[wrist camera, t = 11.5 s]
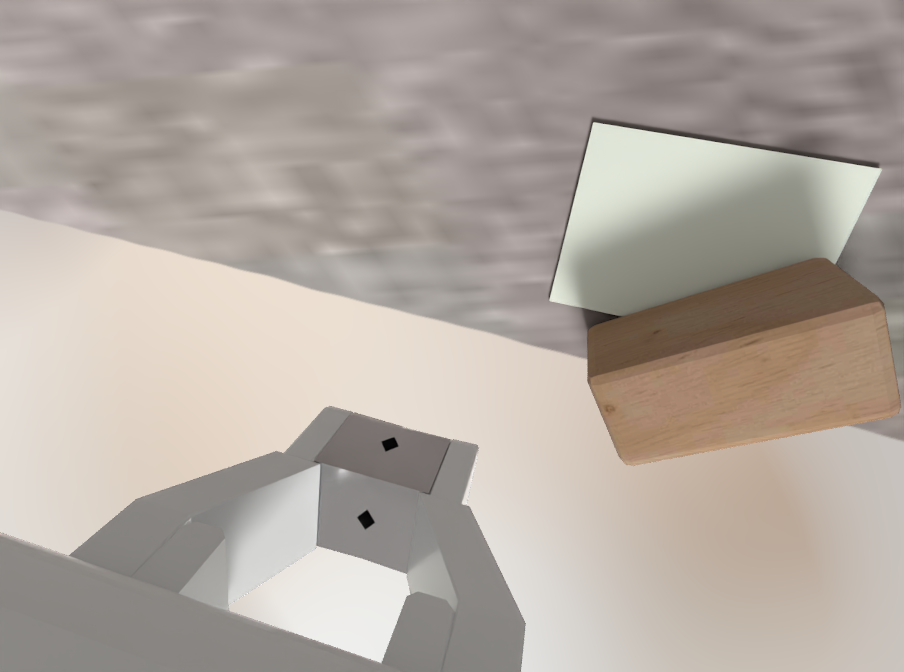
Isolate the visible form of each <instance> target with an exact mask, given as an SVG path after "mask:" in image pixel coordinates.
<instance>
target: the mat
mask: <svg viewBox="0 0 904 672" xmlns="http://www.w3.org/2000/svg"><path fill="white" fill-rule="evenodd" d="M881 170H882V169H879V168H873V167H867V166H861V165H855V164H848V163H842V162H836V161H830V160H824V159H817V158H811V157H805V156H799V155H793V154H787V153H780V152H774V151H768V150H762V149H756V148H749V147H743V146H737V145H731V144H725V143H719V142H712V141H706V140H700V139H694V138H688V137H682V136H675V135H669V134H663V133H657V132H651V131H644V130H638V129H632V128H626V127H620V126H614V125H607V124H601V123H595V122H593V125H592V129H591V134H590V138H589V142H588V146H587V150H586V154H585V158H584V162H583V166H582V170H581V174H580V178H579V182H578V186H577V190H576V194H575V198H574V202H573V206H572V210H571V214H570V218H569V222H568V226H567V230H566V235H565V239H564V243H563V247H562V251H561V255H560V259H559V263H558V267H557V271H556V275H555V279H554V283H553V287H552V291H551V295H550V299H549V301H553V302H557V303H562V304H566V305H571V306H576V307H580V308H585V309H589V310H594V311H599V312H603V313H608V314H612V315H617V316H622V317H623V316H626V315H629V314H633V313H636V312H639V311H642V310H646V309H649V308H652V307H655V306H659V305H662V304H665V303H668V302H672V301H675V300H678V299H682V298H685V297H688V296H691V295H695V294H698V293H701V292H704V291H708V290H711V289H714V288H717V287H721V286H724V285H727V284H730V283H734V282H737V281H740V280H743V279H747V278H750V277H753V276H756V275H760V274H763V273H766V272H770V271H773V270H776V269H779V268H783V267H786V266H789V265H792V264H796V263H799V262H802V261H805V260H809V259H812V258H827V259H828V260H829V261H831V262H832V263H834V264H836V262H837V260H838V258H839V256H840V254H841V252H842V250H843V248H844V246H845V244H846V242H847V240H848V238H849V236H850V233H851V231H852V229H853V227H854V225H855V223H856V221H857V219H858V217H859V215H860V213H861V211H862V209H863V207H864V205H865V203H866V201H867V199H868V197H869V195H870V193H871V191H872V189H873V187H874V185H875V183H876V181H877V179H878V177H879V175H880V172H881Z"/></svg>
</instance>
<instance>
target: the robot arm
mask: <svg viewBox="0 0 904 672" xmlns="http://www.w3.org/2000/svg"><path fill="white" fill-rule="evenodd" d="M478 449H479V447H478V445H476V444H471V443H467V442H462V441H459V440H454V439H453V440H450V439H447V438H443V437H439V436H435V435H431V434H428V433H423V432H420V431H416V430H412V429H408V428H404V427H402V426H399V425H396V424H392V423H389V422H385V421H382V420H378V419H375V418H372V417H368V416H365V415H361V414H358V413H353V412H351V411H347V410H343V409H339V408H335V407H332V406H329V407H326V408H324V409H323V410H322V412H321V413H320V414H319V415H318V416H317V417H316V418H315V419H314V420H313V421H312V423H311V424H310V425H309V426H308V427H307V428H306V429H305V430H304V431H303V433H302V434H301V435H300V436H299V437H298V438H297V439H296V440H295V441H294V443H293V444H292V445H291V446H290V447H289V448H288V449H287V450H286V451H285V452H284V453H281V452H277V451H275V452H273V453H270V454H267V455H264V456H261V457H258V458H255V459H252V460H249V461H246V462H243V463H240V464H237V465H234V466H232V467H229V468H226V469H223V470H220V471H217V472H214V473H211V474H208V475H205V476H202V477H199V478H197V479H193V480H191V481H188V482H185V483H182V484H179V485H176V486H173V487H170V488H167V489H164V490H161V491H158V492H155V493H153V494H150V495H147V496H144V497H141V498H138V499H136V500H135V501H133V502H132V503H131V504H130V505H129V506H127V507H126V508H125V509H124V510H123V511H121V512H120V513H119V514H118V515H117V516H115V517H114V518H113V519H112V520H111V521H109V522H108V523H107V524H106V525H105V526H104V527H102V528H101V529H100V530H99V531H98V532H96V533H95V534H94V535H93V536H92V537H90V538H89V539H88V540H87V541H86V542H85V543H83V544H82V545H81V546H80V547H78V548H77V549H76V550H75V551H74V552H73V553H71V554H70V555H69V556H67V555H65V554H62V553H59V552H56V551H53V550H50V549H47V548H44V547H41V546H39V545H36V544H33V543H30V542H27V541H24V540H21V539H18V538H15V537H12V536H9V535H7V534H4V533H1V532H0V672H521V664H522V654H523V644H524V633H525V624H526V623H525V621H524V619H523V617H522V615H521V613H520V611H519V608H518V607H517V604H516V602H515V600H514V598H513V596H512V594H511V592H510V590H509V588H508V586H507V584H506V581H505V580H504V577H503V575H502V573H501V571H500V569H499V567H498V565H497V563H496V561H495V559H494V556H493V554H492V553H491V550H490V548H489V546H488V544H487V542H486V540H485V538H484V536H483V534H482V532H481V529H480V527H479V525H478V523H477V521H476V519H475V517H474V515H473V513H472V511H471V509H470V507H469V506H466V505H467V501H468V497H469V492H470V488H471V483H472V478H473V473H474V469H475V464H476V460H477V455H478ZM316 546H319V547H323V548H327V549H331V550H334V551H337V552H341V553H345V554H348V555H352V556H355V557H359V558H363V559H365V560H368V561H371V562H374V563H377V564H380V565H383V566H386V567H388V568H391V569H394V570H397V571H400V572H403V573H406V574H407V580H408V584H409V589H410V593H411V595H409V596H407V597H406V600H405V603H404V605H403V608H402V611H401V613H400V616H399V618H398V621H397V624H396V626H395V629H394V632H393V634H392V637H391V640H390V642H389V645H388V647H387V650H386V653H385V655H384V658H383V661H382V663H379V662H376V661H373V660H371V659H368V658H365V657H362V656H359V655H356V654H353V653H350V652H347V651H344V650H341V649H338V648H336V647H333V646H330V645H327V644H324V643H321V642H318V641H315V640H312V639H309V638H306V637H303V636H300V635H298V634H294V633H292V632H289V631H286V630H283V629H280V628H277V627H274V626H272V625H269V624H266V623H263V622H260V621H256V620H254V619H251V618H248V617H245V616H242V615H240V614H237V613H234V612H231V611H229V605H230V604H232V603H233V602H235V601H236V600H238V599H239V598H241V597H242V596H244V595H246V594H247V593H249V592H250V591H252V590H253V589H255V588H256V587H258V586H259V585H261V584H262V583H264V582H266V581H267V580H269V579H270V578H272V577H273V576H275V575H276V574H278V573H279V572H281V571H282V570H284V569H285V568H287V567H289V566H290V565H292V564H293V563H295V562H296V561H298V560H299V559H301V558H302V557H304V556H306V555H307V554H308V553H310V552H312V551H313V550H315V549H316Z"/></svg>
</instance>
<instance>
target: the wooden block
mask: <svg viewBox="0 0 904 672" xmlns="http://www.w3.org/2000/svg"><path fill="white" fill-rule="evenodd" d="M587 348H588V384H589V386H590V389H591V391H592V393H593V396H594V398H595V400H596V403H597V405H598V408H599V410H600V412H601V415H602V417H603V420H604V422H605V424H606V427H607V429H608V432H609V434H610V436H611V439H612V441H613V443H614V446H615V448H616V451H617V453H618V455H619V457H620V458H621V459H622V461H623V462H624V463H625V464H626V465H632V466H635V465H640V464H645V463H651V462H656V461H661V460H666V459H672V458H677V457H683V456H688V455H693V454H699V453H704V452H709V451H715V450H720V449H725V448H731V447H736V446H741V445H747V444H752V443H757V442H763V441H768V440H773V439H779V438H784V437H789V436H795V435H800V434H805V433H811V432H816V431H821V430H826V429H832V428H837V427H843V426H848V425H853V424H859V423H864V422H869V421H875V420H880V419H885V418H890V417H892V416H894V415H896V414H898V413H899V411H900V408H901V404H900V396H899V390H898V384H897V378H896V372H895V366H894V360H893V355H892V349H891V343H890V337H889V331H888V325H887V319H886V313H885V307H884V303H883V302H882V301H881V300H880V299H879V298H878V297H877V296H876V295H875V294H874V293H872V292H871V291H870V290H868V289H867V288H866V287H864V286H863V285H862V284H860V283H859V282H858V281H856V280H855V279H854V278H852V277H851V276H850V275H848V274H847V273H846V272H844V271H843V270H842V269H840V268H839V267H838V266H836V265H835V264H834V263H832V262H831V261H829V260H828V259H827V258H812V259H809V260H805V261H802V262H799V263H796V264H792V265H789V266H786V267H783V268H779V269H776V270H773V271H770V272H766V273H763V274H760V275H756V276H753V277H750V278H747V279H743V280H740V281H737V282H734V283H730V284H727V285H724V286H721V287H717V288H714V289H711V290H708V291H704V292H701V293H698V294H695V295H691V296H688V297H685V298H682V299H678V300H675V301H672V302H668V303H665V304H662V305H659V306H655V307H652V308H649V309H646V310H642V311H639V312H636V313H633V314H629V315H626V316H623V317H620V318H616V319H613V320H610V321H607V322H603V323H600V324H597V325H594V326H593V327H591V328H590V329H589V330H588V337H587Z"/></svg>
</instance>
